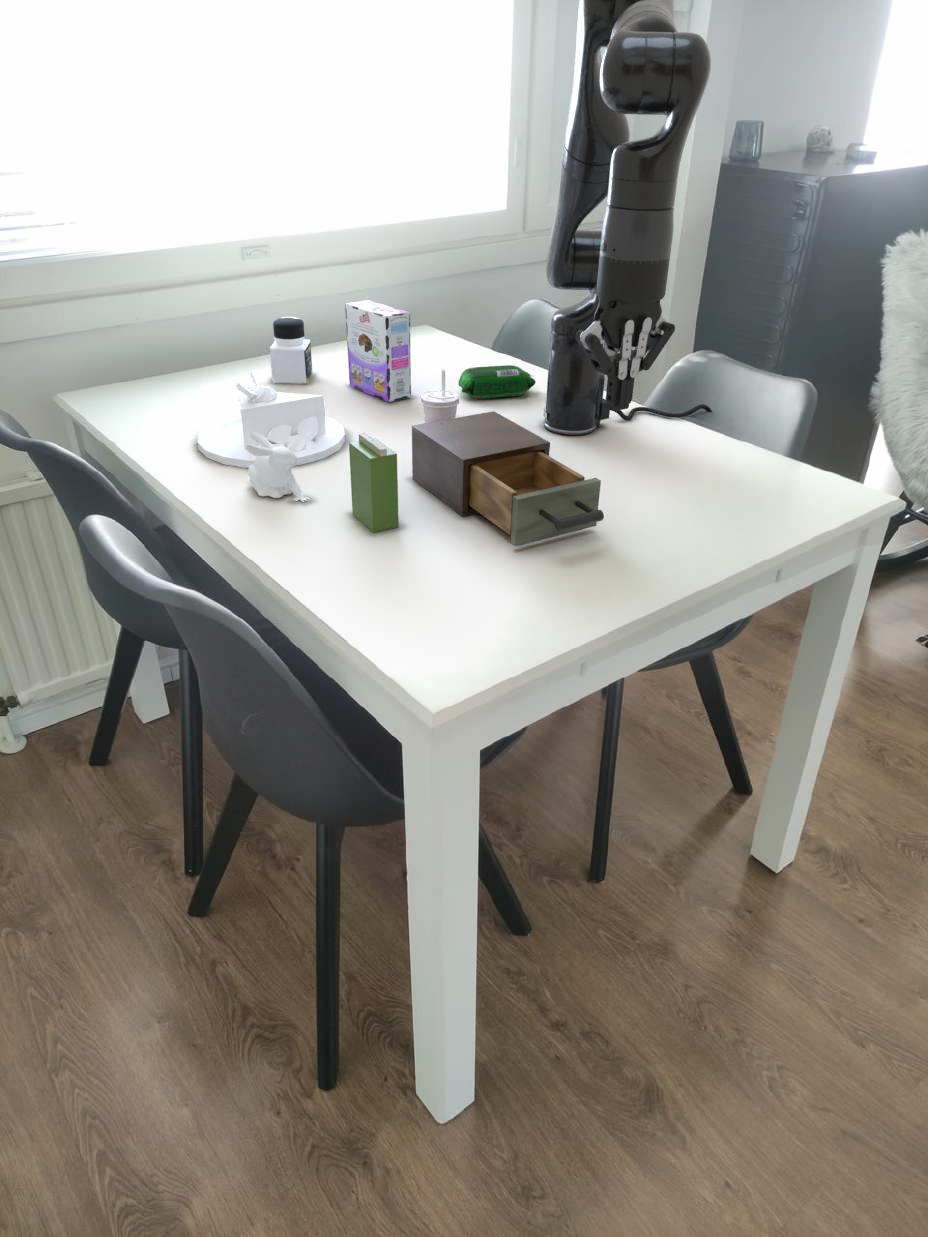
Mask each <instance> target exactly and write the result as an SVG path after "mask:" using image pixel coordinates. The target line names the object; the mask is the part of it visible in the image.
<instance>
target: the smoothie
mask: <svg viewBox="0 0 928 1237" xmlns="http://www.w3.org/2000/svg"><path fill="white" fill-rule="evenodd" d="M419 402H420V404H421V405H422V411H423V417H424V423H430V422H435V421H441V420H447V419H452V418H457V409H458V405H459V404H460V395H459V394H458V393H456V392H453V391H450V390H446V369H441V390H430V391H426V392H424V393H422V394H421V395H420V401H419Z"/></svg>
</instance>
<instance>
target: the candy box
mask: <svg viewBox="0 0 928 1237" xmlns="http://www.w3.org/2000/svg"><path fill="white" fill-rule="evenodd" d="M344 309H345V310H344V311H345V326H346V344H347V360H348V380H349V387H350V388H352V389H356V390H358V391H360V392H363V393H366V394H367V395H370V396H373V397H374V398H378V399H380V400H382V401H384V402H387V403H391V402H396V401H401V400H406V399H411V398H412V375H411V374H412V368H411V366H412V365H411V364H412V362H411V361H412V360H411V312H410V311H406V310H402V309H399V308H396V307H394V306H393V307H392V306H389V305H386V304H383V303H379V302H376V301H373V300H370V299H365V300H359V301H352V302H346V303H344Z"/></svg>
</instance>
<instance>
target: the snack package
mask: <svg viewBox="0 0 928 1237" xmlns="http://www.w3.org/2000/svg"><path fill="white" fill-rule="evenodd" d="M535 385H536V380H535V379H534V378H533V376H532V375H531V374H530V373H529V372H527V371H526V370H524V369H523V368H521V367H520V366H517V365H512V364H510V365H509V364H504V365H489V366H474V367H468V368H466V369H465V370H463V371H462V373H461V374H460V377H459V379H458V387H459V388H461V392H462V393H463V394H466V395H468V397H470V398H471V399H473V400H474V399H475V400H485V399H497V398H510V397H519V396H523V395H525V394H526V393H527V392H528V391H529V390H530V389H531V388H533V387H534V386H535Z"/></svg>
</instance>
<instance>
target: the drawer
mask: <svg viewBox="0 0 928 1237" xmlns="http://www.w3.org/2000/svg"><path fill="white" fill-rule="evenodd" d="M601 484H602V480H601V479H599V478H597V477H593V478H588V479H585V476H584V475H582V474H580V473H579V472H577V471H575V470H574V469H572V468H570V467H569V466H567V465H565V464H564V463H562V462H560V461H558V460H557V459H554V458H553V457H552V456H550V455H549V456H548V455H546V454H544V453H543V452H541V451H539V450H538V451H533V452H528V453H524V454H519V455H514V456H509V457H504V458H499V459H494V460H489V461H484V462H479V463H474V464H470V465H469V473H468V505H469V506H471V507H472V508H473V509H475V510H476V511H477V512H479V513H478V514H480V515H482V516H483V517H484V518H486V519H487V520H488V521H490V522H491V523H493V525H495V526H497V527H498V528H499V529H500V530H502V531H504V533H506V534H508V535H509V536H510V544H511V545H512V546H514V547H516V548H517V547H519V546H523V545H528V544H531V543H536V542H539V541H543V540H548V539H551V538H554V537H559V536H563V535H566V534H567V535H568V534H571V533H575V532H578V531H582V530H586V529H589V528H593V527H597V524H598V523H599V522H602V521H603V520H604V517H605V515H604V514H605V513H604V511H603V510H602V509H599V503H600V495H601V494H600V493H601Z"/></svg>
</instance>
